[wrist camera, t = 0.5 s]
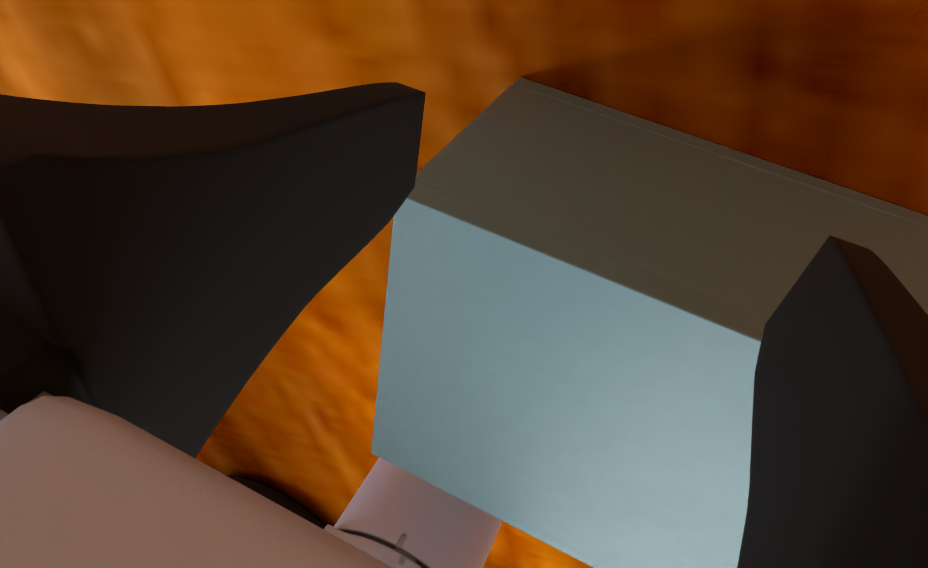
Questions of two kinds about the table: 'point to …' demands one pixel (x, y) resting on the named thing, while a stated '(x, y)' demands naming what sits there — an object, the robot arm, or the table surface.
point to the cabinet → (600, 322)
